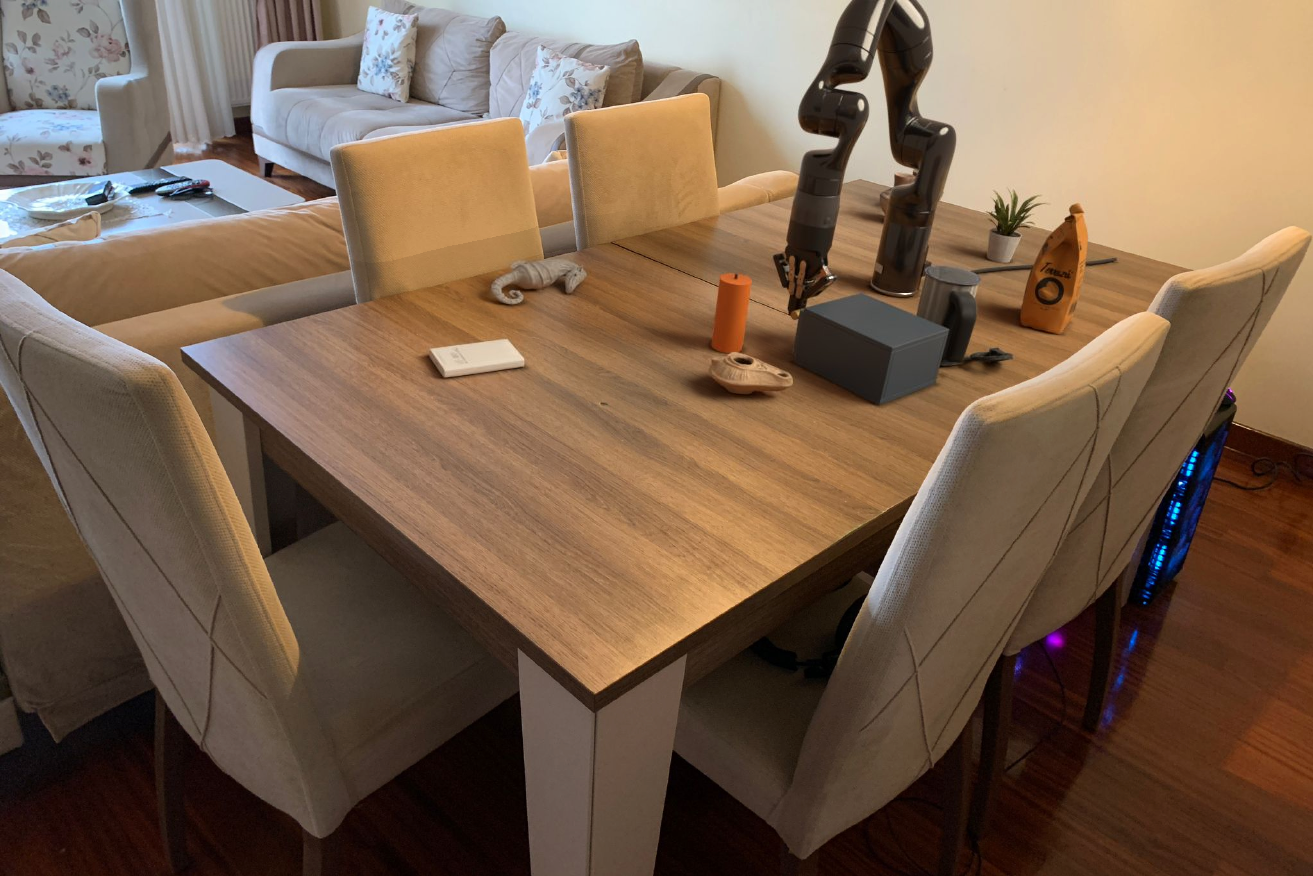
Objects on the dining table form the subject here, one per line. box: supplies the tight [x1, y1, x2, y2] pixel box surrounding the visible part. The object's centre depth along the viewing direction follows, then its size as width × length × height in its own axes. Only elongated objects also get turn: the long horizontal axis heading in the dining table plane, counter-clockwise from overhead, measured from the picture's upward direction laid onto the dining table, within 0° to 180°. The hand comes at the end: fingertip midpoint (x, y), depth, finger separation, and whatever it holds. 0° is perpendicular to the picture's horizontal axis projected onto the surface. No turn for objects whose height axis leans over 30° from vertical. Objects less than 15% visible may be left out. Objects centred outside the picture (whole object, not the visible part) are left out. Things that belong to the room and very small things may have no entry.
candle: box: [710, 272, 753, 354], centre depth 150 cm, size 5×5×13 cm
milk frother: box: [915, 265, 1014, 367], centre depth 153 cm, size 14×16×15 cm
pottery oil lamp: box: [708, 352, 794, 395], centre depth 138 cm, size 9×12×7 cm
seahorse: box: [489, 257, 588, 306], centre depth 167 cm, size 5×12×20 cm
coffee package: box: [1019, 203, 1089, 335], centre depth 172 cm, size 10×12×22 cm
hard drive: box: [428, 338, 525, 379], centre depth 140 cm, size 2×8×12 cm
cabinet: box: [794, 292, 949, 406], centre depth 147 cm, size 18×15×10 cm
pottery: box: [879, 169, 945, 221], centre depth 233 cm, size 11×25×12 cm, turn 145°
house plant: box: [984, 187, 1050, 264], centre depth 207 cm, size 14×14×16 cm
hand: (794, 315), depth 157 cm, fingers closed
